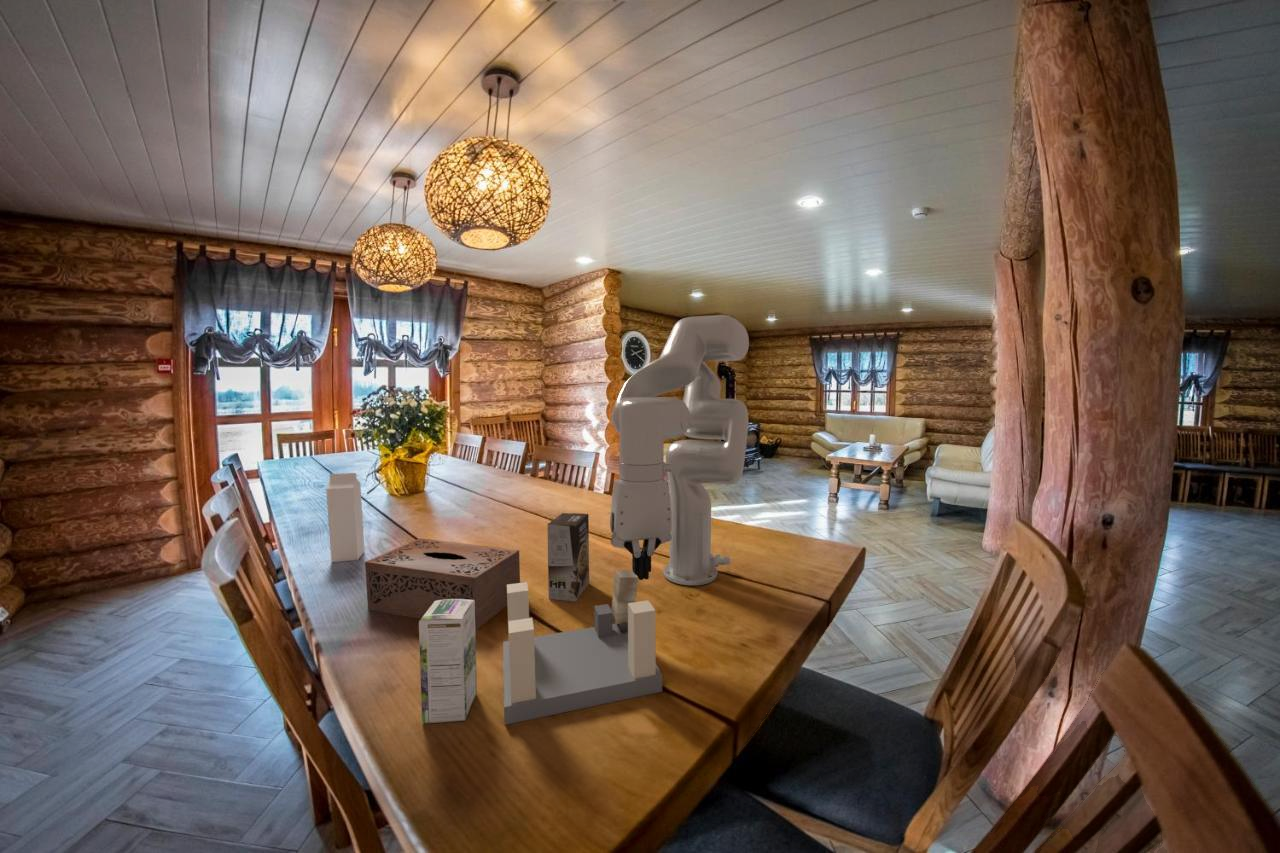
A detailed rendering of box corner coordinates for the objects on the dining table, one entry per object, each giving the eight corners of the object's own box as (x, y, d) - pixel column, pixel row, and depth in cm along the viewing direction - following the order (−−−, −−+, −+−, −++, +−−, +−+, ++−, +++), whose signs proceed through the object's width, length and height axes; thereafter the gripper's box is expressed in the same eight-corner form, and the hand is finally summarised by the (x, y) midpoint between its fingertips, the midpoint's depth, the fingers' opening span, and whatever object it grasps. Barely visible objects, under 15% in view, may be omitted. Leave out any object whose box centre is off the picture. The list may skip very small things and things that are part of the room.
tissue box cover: (368, 610, 92) (364, 561, 91) (422, 580, 106) (419, 538, 105) (477, 630, 84) (475, 577, 83) (520, 595, 98) (519, 550, 97)
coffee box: (577, 602, 94) (575, 525, 93) (547, 599, 96) (545, 523, 94) (590, 583, 103) (589, 513, 102) (563, 581, 105) (562, 511, 103)
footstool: (631, 634, 82) (631, 567, 81) (662, 691, 67) (662, 610, 66) (503, 656, 76) (500, 584, 75) (504, 724, 61) (501, 636, 59)
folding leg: (627, 621, 82) (632, 569, 81) (632, 632, 78) (638, 577, 78) (609, 622, 81) (615, 569, 80) (614, 633, 77) (620, 578, 77)
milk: (358, 560, 117) (352, 475, 115) (330, 562, 116) (324, 476, 114) (365, 551, 123) (360, 470, 121) (339, 554, 122) (333, 471, 119)
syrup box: (436, 695, 66) (432, 599, 65) (478, 693, 67) (474, 597, 65) (421, 724, 61) (415, 619, 59) (467, 721, 61) (463, 617, 60)
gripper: (674, 466, 84) (673, 563, 86) (593, 470, 80) (595, 573, 81) (690, 473, 77) (690, 580, 79) (603, 479, 73) (604, 591, 74)
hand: (641, 576), depth 80 cm, fingers closed
